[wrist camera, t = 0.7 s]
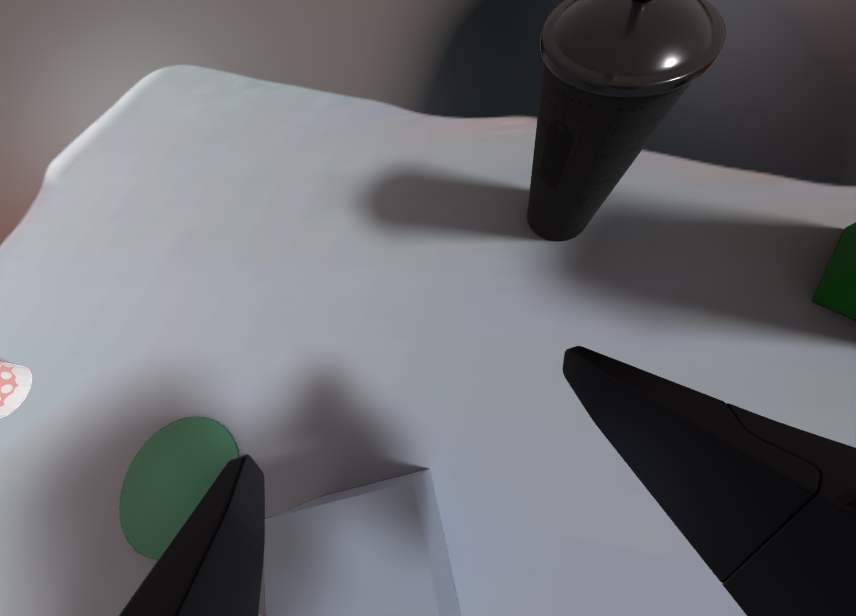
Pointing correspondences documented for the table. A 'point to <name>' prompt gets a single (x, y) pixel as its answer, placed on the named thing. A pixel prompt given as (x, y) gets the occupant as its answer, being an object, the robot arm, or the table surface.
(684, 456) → the robot arm
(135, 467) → the disc
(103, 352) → the table surface
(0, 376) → the beverage cup
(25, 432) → the table surface
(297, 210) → the table surface
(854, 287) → the milk carton
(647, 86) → the drinking cup
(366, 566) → the grey block
